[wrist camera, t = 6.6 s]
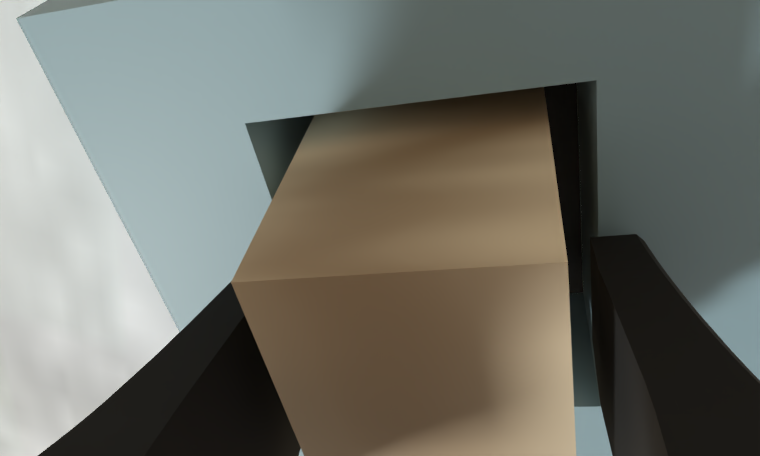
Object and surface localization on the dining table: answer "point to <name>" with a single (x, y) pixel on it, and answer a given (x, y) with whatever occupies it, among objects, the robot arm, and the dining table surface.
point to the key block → (418, 283)
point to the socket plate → (418, 84)
